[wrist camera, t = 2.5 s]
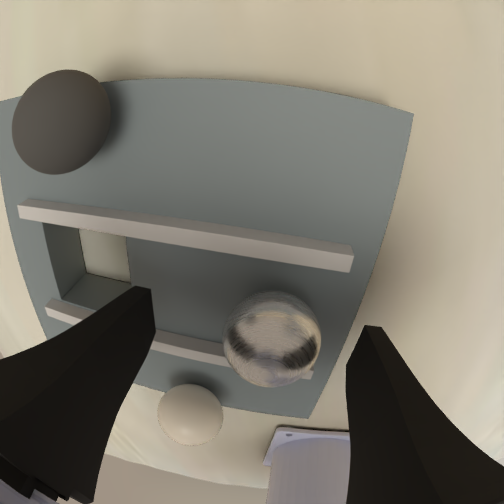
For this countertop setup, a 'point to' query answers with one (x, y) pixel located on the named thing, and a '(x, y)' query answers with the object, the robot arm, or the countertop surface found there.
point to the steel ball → (271, 338)
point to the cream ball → (190, 414)
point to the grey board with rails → (215, 219)
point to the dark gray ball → (61, 122)
